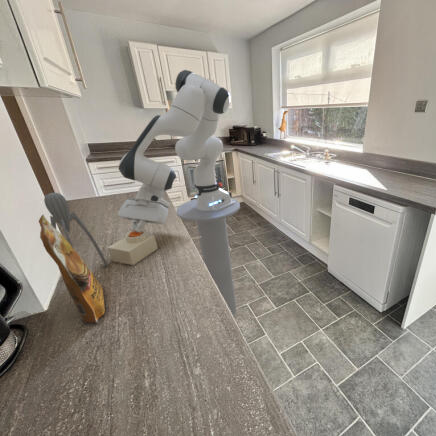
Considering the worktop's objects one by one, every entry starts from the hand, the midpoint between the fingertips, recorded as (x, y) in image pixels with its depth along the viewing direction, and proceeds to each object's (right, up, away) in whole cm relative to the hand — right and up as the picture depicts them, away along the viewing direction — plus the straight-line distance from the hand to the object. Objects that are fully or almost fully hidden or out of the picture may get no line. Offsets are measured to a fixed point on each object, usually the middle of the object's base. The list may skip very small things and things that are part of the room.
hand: (135, 231), depth 93 cm
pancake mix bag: (+3, -21, -23) cm, 31 cm away
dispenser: (-1, -9, +2) cm, 9 cm away
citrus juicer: (-9, -15, -11) cm, 21 cm away
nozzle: (0, -2, +1) cm, 3 cm away
